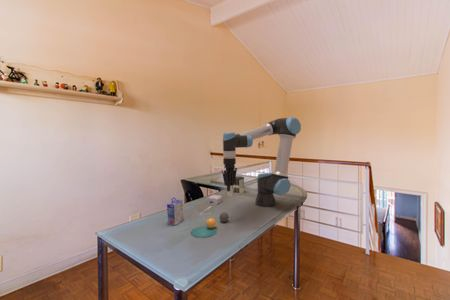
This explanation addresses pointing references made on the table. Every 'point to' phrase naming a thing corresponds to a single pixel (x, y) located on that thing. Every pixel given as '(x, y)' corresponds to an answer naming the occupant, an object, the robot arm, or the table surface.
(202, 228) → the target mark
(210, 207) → the crossbow
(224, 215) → the dark grey ball
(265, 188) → the robot arm
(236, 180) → the coffee can
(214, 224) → the object ball
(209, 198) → the charger
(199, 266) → the table surface
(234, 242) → the table surface
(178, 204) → the ink cartridge box
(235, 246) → the table surface
